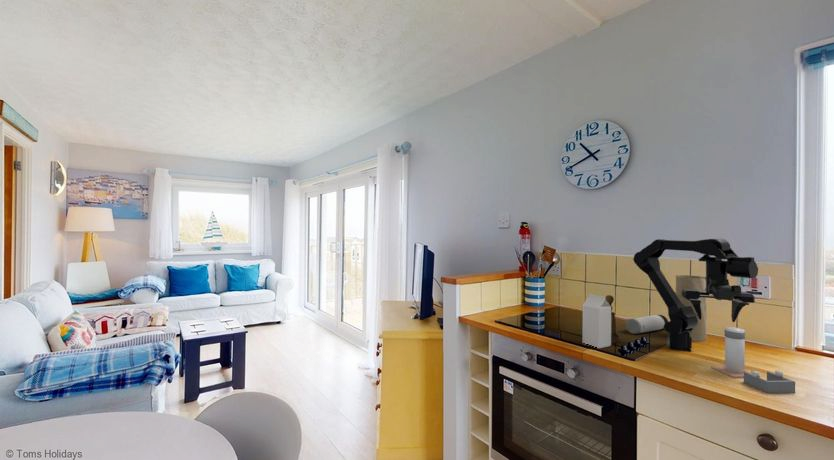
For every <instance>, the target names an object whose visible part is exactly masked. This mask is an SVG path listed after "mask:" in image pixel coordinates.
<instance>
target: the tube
mask: <svg viewBox="0 0 834 460" xmlns="http://www.w3.org/2000/svg"><path fill="white" fill-rule="evenodd" d="M705 277H706V276H701V275H688V274H687V275H685V274H680V275H675V294H676V295H677V297H678V298H679V300H680V301H681V303H682V304H683V305H685V306H691V307H692V308H693V311H694V312H695V314H697V313H696V311H695V309H694V306H693V305H692V303H691V301H689V300H687V299H686V298H684V297H682V290H683V289H695V290H698V291H699V292H706V291H705V288H706V280H705ZM699 300H700V301H701V304H700V306H701V320H700V319H699V318H698V316H696V317H697V319H698V323H697V326H696V327H694V328H693V330H692V332H689V333H690V337H691V338H692V342H697V343H698V342H699V343H702V342H706V341H707V298H706V297H700V298H699Z"/></svg>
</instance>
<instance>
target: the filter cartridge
mask: <svg viewBox="0 0 834 460" xmlns="http://www.w3.org/2000/svg"><path fill="white" fill-rule="evenodd" d="M745 340H746V330H745V329H743V328H740V327H736V326H735V327H733V326H726V327H724V366H725V370H727V371H729V372H732V373H737V374H744V372H745V370H746V369H745V366H746V365H745V364H746V362H745V358H746V357H745V355H746V352H745V351H746V348H745V347H746V345H745Z"/></svg>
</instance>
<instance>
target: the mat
mask: <svg viewBox="0 0 834 460" xmlns="http://www.w3.org/2000/svg"><path fill="white" fill-rule="evenodd" d="M711 369H713V370H715V371H718V372H720V373H722V374H724V375H727V376H728V377H731V378H733V379H744V374H737V373H732V372H729V371H727V370H725V365H711ZM745 372H748V373H750V374H751V371H750V370H747V369H745ZM759 377H760V378H761V376H760V375H759Z"/></svg>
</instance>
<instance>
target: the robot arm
mask: <svg viewBox="0 0 834 460" xmlns="http://www.w3.org/2000/svg"><path fill="white" fill-rule="evenodd" d="M666 250H668V251H684V252H695V253H698V254H701V255H702V254H703V256H701V257H700V258H698V261H699V262H705V276H704V277H705V280H706V288H705V291H706V292H699V291H698V290H695V289H683V290H682V297H684V298H686V299H687V300H689V301H691V303H692V305H693V306H694V309H695V311H696V313H697V314H695V312H694V311H693V308H692V307H691V306H685V305H683V304H682V303H681V301H680V300H679V298H678V297H677V295H676V291H675V290H674V288H672V286H671V284H670V283H669V281H668V280H667V278H666V277H665V275H664V273H663V271H662V270H661V263H660V260H659V258H660V257H662V255H663V254H664V253H665V251H666ZM632 260H633V263H634V264H635V265H636V266H637V267H638V268H639V270H641V271H642V272H644V273H645V274H646V275H647V276H648V278H649V280H650V281H651V283H652V284H653V287H655V289H656V291H657V293H658V294H659V295H660V298H661V299H662V300H663V302H664V305H665V306H666V307H667V311H668V312H667V313H668V314H667V316H668V317H669V320H668V323H667V324H665V325H664V328H665V329H664V330H665V332H667V342H666V346H667V347H668V348H669V349H671V350H677V351H683V352H684V351H686V352H692V348H693V347H692V342H693V341H692V338H691V337H690V333H689V332H692V330H693V328H694V327H696V326H697V323H698V319H697V317H696V316H698V318H699V319H700V320H701V306H700V304H701V301H700V300H699V298H700V297H706V299H707V298H710V299H715V300H716V301H717V300H718V301H729V302H730V301H731V314H730V315H731V316H730V317H731V322H732V323H736V321H737V318H738V317H739V314H740V312H741V310H743V308H744V307H745V306H750V303H751V304H754V303H756V299H755V295H754V294H752V292H751V293H750V292H747V291H742V287H741V286H740V285H734V284H733V285H730V280H729V279H728V275H729V276H730V277H732V278H743V279H757V276H758V274H759V267H758V264H757V263H756V261H755V257H754V256H748V257H745V256H744V257H742V256H739V255H737V253H736V252H735V251H734V249H732V247H731V244H730V243H729V242H728V240H727V239H725V238H707V239H700V240H699V239H698V240H680V239H679V240H678V239H677V240H676V239H673V240H672V239H666V238H665V239H664V238H663V239H658V238H657V239H654V240H653V241H652V242H651V243H650V244H649V245H647V246H646V247H644V248H642V249H641V250H640V251H637V252H636V253H635V254H634V255H633V258H632Z"/></svg>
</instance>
